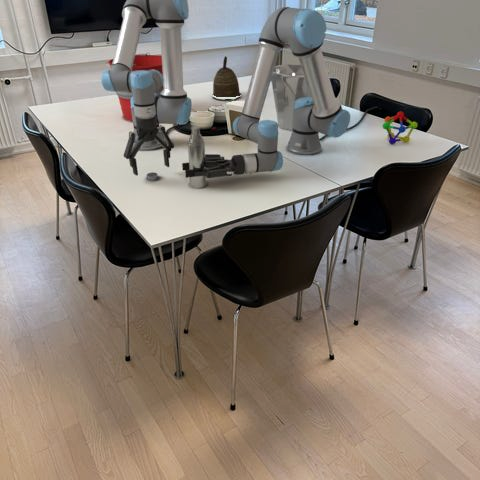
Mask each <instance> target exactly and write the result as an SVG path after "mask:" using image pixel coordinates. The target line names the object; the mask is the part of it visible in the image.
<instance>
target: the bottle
mask: <svg viewBox="0 0 480 480" xmlns="http://www.w3.org/2000/svg"><path fill="white" fill-rule="evenodd" d="M190 131H191V134H190V136H189V137H188V140H187V154H188V155H187V156H188V163H189V170H191V169H201V168H206V166H205V154H206V145H205V139H204V137H203V136H202V134H201V127H200V126H198V125H196V126H195V125H194V126H191V127H190ZM189 186H190V187H191V188H194V189H201V188H204V187H206V186H207V178H206V177H204V176H197V177H189Z"/></svg>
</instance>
